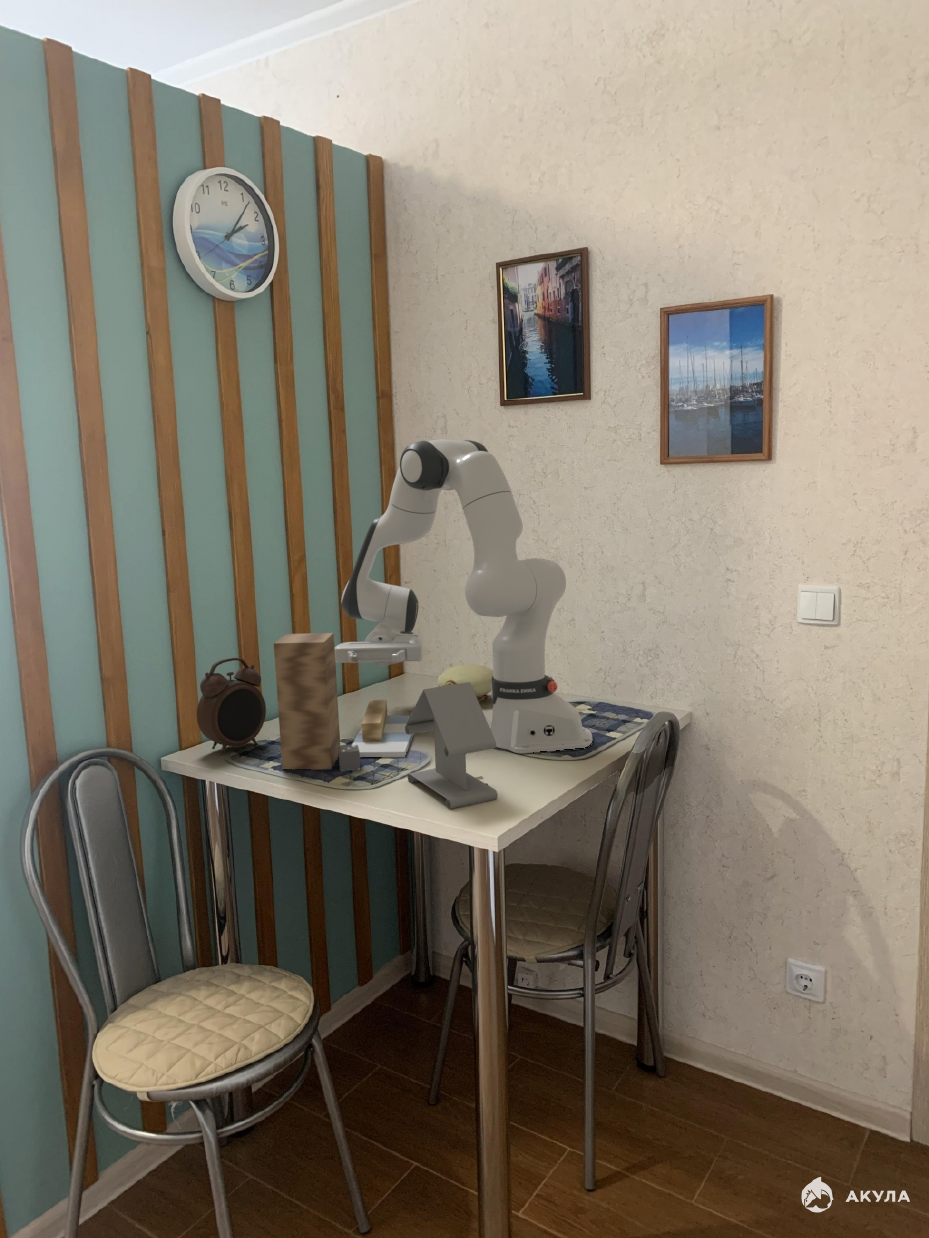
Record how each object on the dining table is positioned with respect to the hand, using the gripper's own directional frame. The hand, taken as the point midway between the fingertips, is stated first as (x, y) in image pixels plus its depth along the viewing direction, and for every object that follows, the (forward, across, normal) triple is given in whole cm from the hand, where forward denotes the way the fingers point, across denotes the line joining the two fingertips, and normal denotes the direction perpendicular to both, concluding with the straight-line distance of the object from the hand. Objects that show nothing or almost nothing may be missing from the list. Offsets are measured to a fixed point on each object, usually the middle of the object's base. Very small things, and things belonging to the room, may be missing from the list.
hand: (374, 659), depth 208 cm
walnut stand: (+18, -11, +18) cm, 27 cm away
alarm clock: (+8, -30, +18) cm, 36 cm away
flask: (-28, +18, +18) cm, 38 cm away
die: (+22, -2, +18) cm, 28 cm away
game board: (+2, +2, +18) cm, 18 cm away
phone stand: (+36, +19, +18) cm, 45 cm away
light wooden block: (-2, -1, +16) cm, 16 cm away
